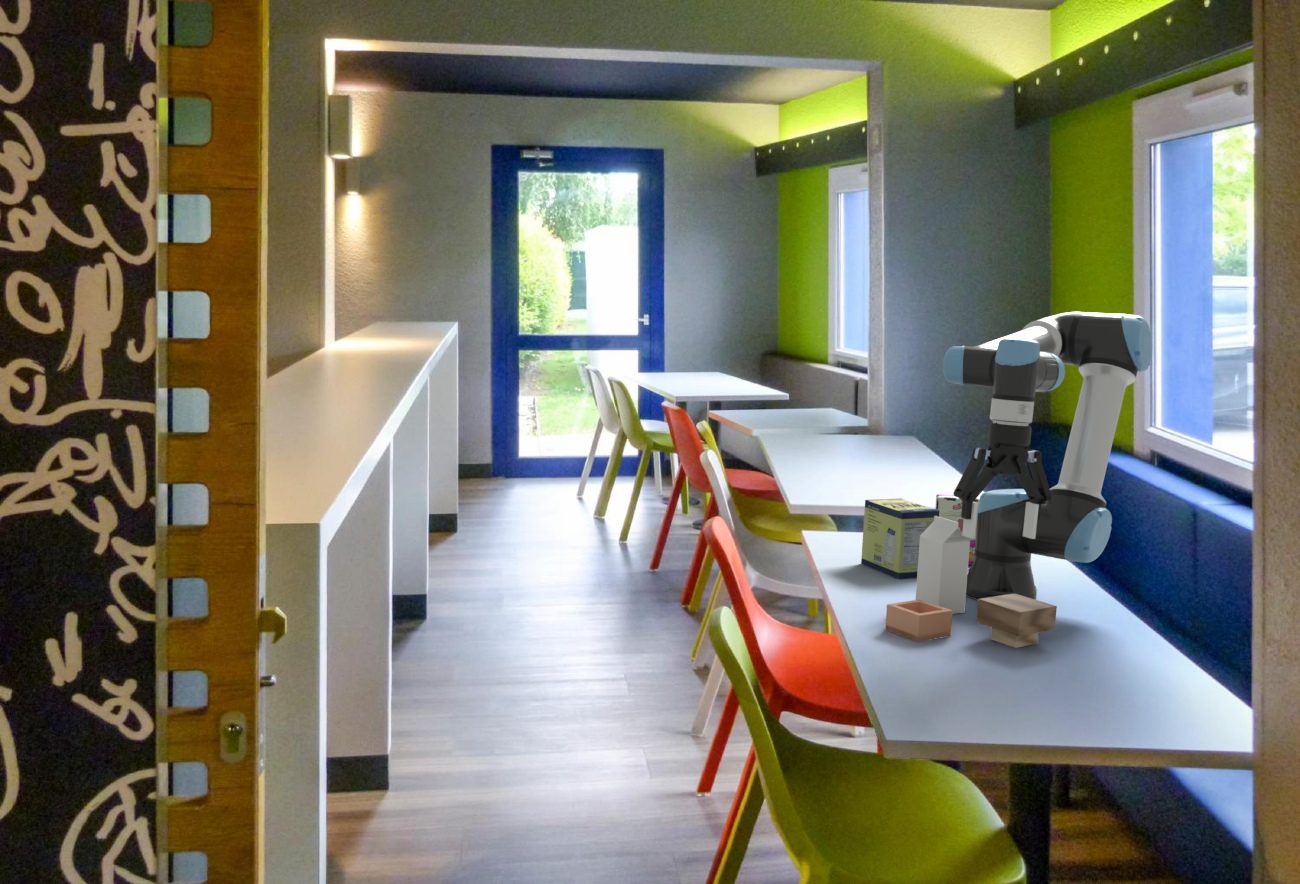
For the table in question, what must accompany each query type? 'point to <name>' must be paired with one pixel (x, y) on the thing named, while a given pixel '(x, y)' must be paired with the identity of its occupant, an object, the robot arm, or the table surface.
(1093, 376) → the robot arm
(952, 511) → the candy bar box
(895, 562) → the protein box
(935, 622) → the open square box
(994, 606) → the brown box
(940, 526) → the milk carton
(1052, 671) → the table surface
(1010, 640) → the stand
